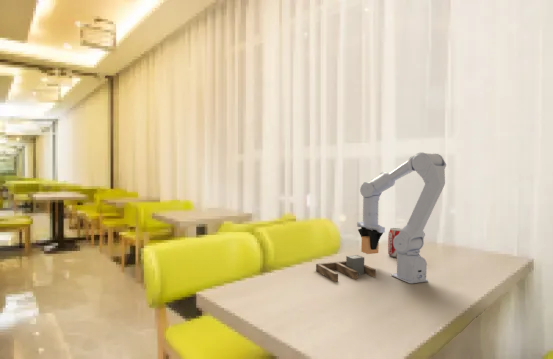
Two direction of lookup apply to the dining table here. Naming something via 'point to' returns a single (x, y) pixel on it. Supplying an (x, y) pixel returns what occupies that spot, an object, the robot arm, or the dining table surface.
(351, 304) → the dining table surface
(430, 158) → the robot arm
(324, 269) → the cable comb
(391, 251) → the soda can
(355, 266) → the charcoal plug
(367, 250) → the orange block
